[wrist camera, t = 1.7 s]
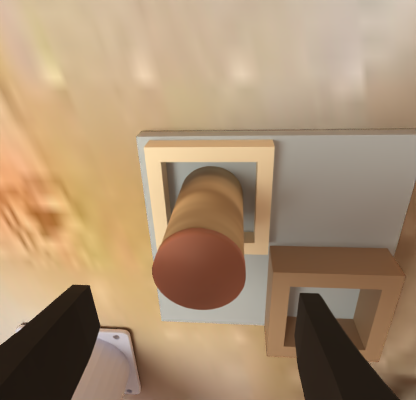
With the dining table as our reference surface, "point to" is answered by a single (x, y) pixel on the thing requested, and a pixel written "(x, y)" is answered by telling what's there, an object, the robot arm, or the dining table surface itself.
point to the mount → (298, 222)
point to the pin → (203, 242)
